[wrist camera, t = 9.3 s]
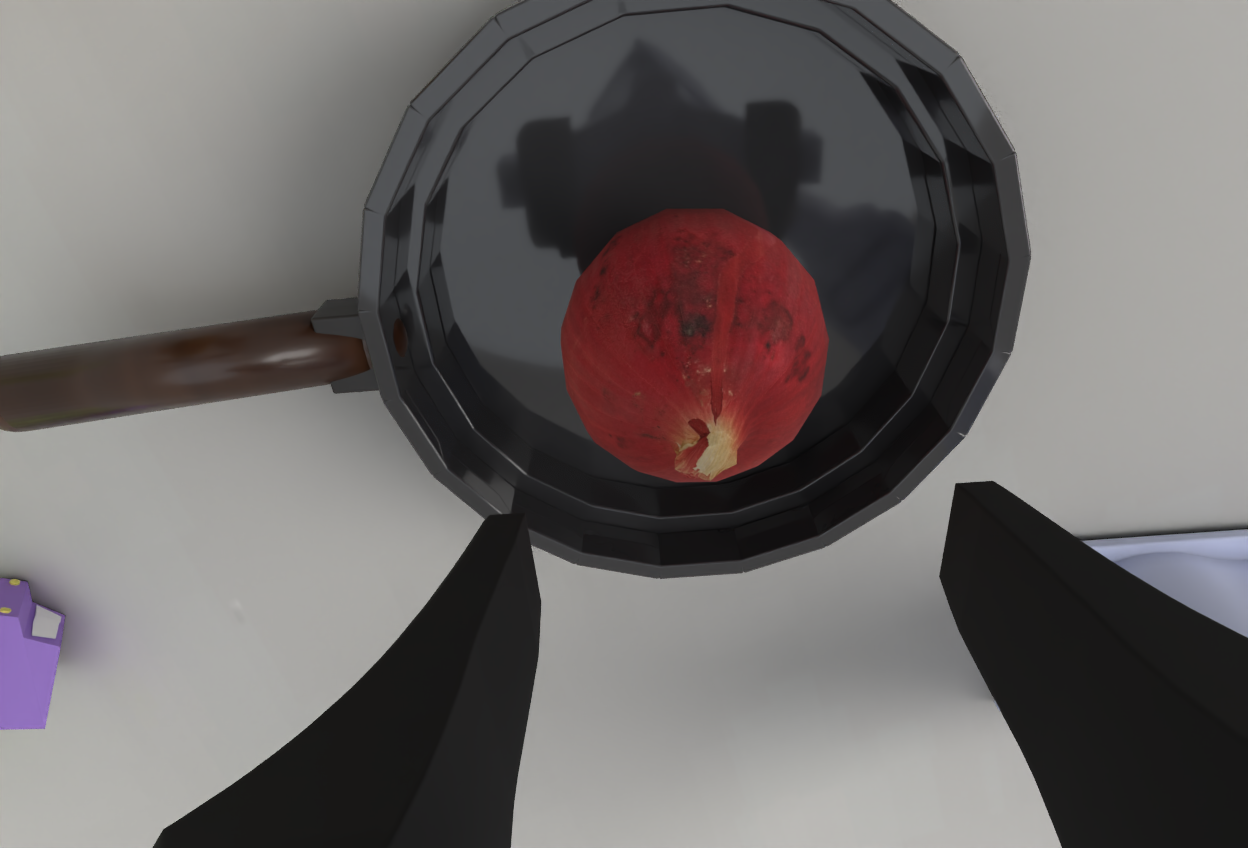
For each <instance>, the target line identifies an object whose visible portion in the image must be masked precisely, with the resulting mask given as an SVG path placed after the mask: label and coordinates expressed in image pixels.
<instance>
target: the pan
mask: <svg viewBox="0 0 1248 848" xmlns="http://www.w3.org/2000/svg"><path fill="white" fill-rule="evenodd" d="M1014 151H1015V149H1014V147H1013V145H1012V143H1011V142H1010V140H1009V138H1008V136H1007V135H1006V133H1005V131H1004V129H1003V128H1002V126H1001V124H1000V123H999V121H998V119H997V117H996V116H995V114H994V112H993V110H992V109H991V107H990V105H989V103H988V102H987V100H986V98H985V96H984V95H983V93H982V91H981V89H980V88H979V86H978V84H977V82H976V81H975V79H974V77H973V75H972V74H971V72H970V70H969V69H968V67H967V65H966V63H965V62H964V60H963V58H962V56H960V55H959V54H958V52H957V51H956V50H954V49H953V48H952V47H951V46H949V45H948V44H947V43H945V42H944V41H943V40H942V39H940V38H939V37H938V36H936V35H935V34H934V33H933V32H931V31H930V30H929V29H928V28H926V27H925V26H924V25H922V24H921V23H920V22H919V21H917V20H916V19H915V18H913V17H912V16H911V15H910V14H908V13H907V12H906V11H904V10H903V9H902V8H901V7H899V6H898V5H897V4H895V3H894V2H893V1H892V0H520V1H518V2H516V3H514V4H512V5H510V6H509V7H507V8H505V9H503V10H501V11H500V12H498V13H496V14H495V15H494V16H492V17H491V18H490V19H489V20H488V21H487V22H486V23H485V24H484V25H483V26H482V27H481V28H480V29H479V30H478V31H477V32H476V33H475V35H474V36H473V37H472V38H471V39H470V40H469V41H468V42H467V43H466V44H465V45H464V46H463V47H462V48H461V49H460V50H459V51H458V52H457V53H456V54H455V55H454V56H453V58H452V59H451V60H450V61H449V62H448V63H447V64H446V65H445V66H444V67H443V68H442V69H441V70H440V71H439V72H438V73H437V74H436V75H435V76H434V77H433V78H432V79H431V81H430V82H429V83H428V84H427V85H426V86H425V87H424V88H423V89H422V90H421V91H420V92H419V93H418V94H417V95H416V96H415V97H414V98H413V99H412V100H411V102H410V105H408V106H407V108H406V110H405V113H404V115H403V117H402V119H401V122H400V124H399V126H398V129H397V131H396V133H395V135H394V138H393V140H392V142H391V145H390V147H389V149H388V152H387V154H386V156H385V158H384V161H383V163H382V165H381V168H380V170H379V172H378V174H377V177H376V179H375V181H374V184H373V186H372V188H371V190H370V193H369V195H368V197H367V200H366V202H365V204H364V207H365V208H364V209H363V219H362V235H361V251H360V266H359V282H358V298H357V309H358V316H359V319H360V323H361V327H362V330H363V334H364V337H365V341H366V344H367V348H368V352H369V355H370V359H371V362H372V366H373V369H374V373H375V377H376V380H377V384H378V387H379V391H380V394H381V398H382V400H383V402H384V404H385V406H386V407H387V409H388V410H389V412H390V413H391V415H392V416H393V418H394V419H395V421H396V422H397V424H398V425H399V427H400V428H401V430H402V431H403V433H404V434H405V436H406V437H407V439H408V440H409V442H410V443H411V445H412V446H413V448H414V449H415V451H416V452H417V454H418V455H419V457H420V458H421V460H422V461H423V463H424V464H425V466H426V467H427V469H428V470H429V472H430V473H431V474H432V475H433V476H434V478H436V479H437V480H438V481H439V482H440V483H442V484H443V485H444V486H445V487H447V488H448V489H449V490H450V491H451V492H453V493H454V494H455V495H456V496H457V497H459V498H460V499H461V500H462V501H464V502H465V503H466V504H467V505H468V506H470V507H471V508H472V509H473V510H474V511H476V512H477V513H478V514H479V515H481V516H482V517H483V518H484V519H486V518H487V517H488V516H489V515H496V514H511V513H525V515H526V520H527V526H528V531H529V537H530V543H531V545H533V546H535V547H537V548H539V549H542V550H544V551H546V552H548V553H551V554H553V555H555V556H557V557H560V558H562V559H564V560H566V561H569V562H571V563H573V564H577V565H580V566H586V567H592V568H598V569H604V570H609V571H615V572H621V573H627V574H633V575H639V576H645V577H651V578H656V579H657V578H660V579H665V578H679V577H694V576H708V575H722V574H737V573H743V572H748V571H752V570H755V569H758V568H761V567H764V566H768V565H771V564H774V563H777V562H780V561H784V560H787V559H790V558H793V557H796V556H799V555H803V554H806V553H809V552H812V551H815V550H819V549H822V548H824V547H825V546H829V545H831V544H832V543H834V542H836V541H837V540H839V539H841V538H842V537H844V536H846V535H847V534H849V533H851V532H852V531H854V530H856V529H857V528H859V527H860V526H862V525H864V524H865V523H867V522H869V521H870V520H872V519H874V518H875V517H877V516H879V515H880V514H882V513H884V512H885V511H887V510H889V509H890V508H892V507H894V506H895V505H897V504H899V503H900V502H901V500H904V499H905V498H906V497H907V496H908V495H909V494H910V493H911V492H912V491H913V490H914V489H915V488H916V487H917V486H918V485H919V484H920V483H921V482H922V481H923V480H924V479H925V478H926V476H927V475H928V474H929V473H930V472H931V471H932V470H933V469H934V468H935V467H936V466H937V465H938V464H939V463H940V462H941V461H942V460H943V459H944V458H945V457H946V456H947V455H948V454H949V453H950V452H951V451H952V450H953V449H954V448H955V447H956V446H957V445H958V444H959V443H960V442H961V441H962V440H963V439H964V438H965V435H967V434H968V432H969V430H970V428H971V427H972V425H973V423H974V421H975V419H976V417H977V416H978V414H979V412H980V410H981V408H982V406H983V405H984V403H985V401H986V399H987V397H988V395H989V394H990V392H991V390H992V388H993V386H994V385H995V383H996V381H997V379H998V377H999V375H1000V374H1001V372H1002V370H1003V368H1004V366H1005V364H1006V363H1007V361H1008V359H1009V357H1010V355H1011V352H1012V351H1013V346H1014V341H1015V336H1016V331H1017V326H1018V321H1019V316H1020V311H1021V306H1022V301H1023V295H1024V290H1025V285H1026V280H1027V275H1028V270H1029V265H1030V260H1031V249H1030V242H1029V235H1028V229H1027V222H1026V215H1025V208H1024V202H1023V195H1022V188H1021V182H1020V175H1019V168H1018V161H1017V155H1016V152H1014ZM665 209H725V210H727V211H729V212H731V213H733V214H735V215H737V216H739V217H741V218H743V219H745V220H747V221H749V222H751V223H753V224H755V225H757V226H759V227H761V228H763V229H765V230H767V231H769V232H771V233H772V234H773V235H774V236H776V237H777V238H778V239H780V240H781V241H782V242H783V243H784V244H785V246H786V247H787V248H788V249H789V250H790V252H791V253H792V254H793V255H794V256H795V258H796V259H797V260H798V261H799V262H800V264H801V265H802V266H803V267H804V268H805V270H806V271H807V272H808V273H809V274H810V276H811V277H812V278H813V279H814V281H815V285H816V289H817V293H818V297H819V301H820V305H821V309H822V313H823V317H824V321H825V325H826V329H827V334H828V338H829V343H828V350H827V358H826V365H825V372H824V379H823V386H822V393H821V396H820V398H819V400H818V401H817V403H816V404H815V406H814V408H813V409H812V411H811V413H810V414H809V416H808V417H807V419H806V421H805V422H804V424H803V426H802V427H801V429H800V430H799V432H798V434H797V435H796V436H795V438H794V439H793V441H791V442H790V443H789V444H787V445H786V446H784V447H783V448H782V449H780V450H779V451H778V452H776V453H775V454H774V455H772V456H771V457H769V458H768V459H767V460H765V461H764V462H763V463H761V464H760V465H759V466H757V467H754V468H751V469H749V470H746V471H744V472H741V473H738V474H736V475H733V476H730V477H728V478H725V479H722V480H720V481H717V482H674V481H670V480H667V479H663V478H660V477H656V476H652V475H649V474H645V473H642V472H638V471H636V470H634V469H632V468H631V467H629V466H628V465H626V464H625V463H623V462H622V461H621V460H619V459H618V458H616V457H615V456H614V455H612V454H611V453H609V452H608V451H606V450H605V449H604V448H602V447H601V446H599V445H598V444H596V443H595V442H594V441H593V439H592V438H591V436H590V435H589V433H588V432H587V430H586V428H585V426H584V424H583V422H582V420H581V418H580V416H579V414H578V412H577V410H576V408H575V406H574V404H573V402H572V400H571V398H570V396H569V393H568V391H567V389H566V381H565V373H564V366H563V358H562V350H561V327H562V324H563V320H564V317H565V314H566V311H567V308H568V305H569V302H570V299H571V296H572V292H573V289H574V286H575V283H576V281H577V279H578V278H579V277H580V276H581V275H582V273H583V272H584V271H585V270H586V269H587V267H588V266H589V265H590V264H591V263H592V261H593V260H594V259H595V258H596V257H597V255H598V254H599V253H600V252H601V251H602V249H603V248H604V247H605V246H606V245H607V244H608V242H609V241H610V240H611V239H612V238H613V236H614V235H615V234H616V233H617V232H619V231H621V230H623V229H625V228H627V227H629V226H631V225H633V224H635V223H638V222H640V221H642V220H644V219H646V218H648V217H650V216H652V215H654V214H657V213H659V212H661V211H663V210H665ZM398 318H399V319H400V320H401V321H402V323H403V325H404V327H405V329H406V332H407V337H408V345H407V351H406V354H405V356H404V357H401V356H400V355H399V354H398V352H397V349H396V345H395V340H394V324H395V320H396V319H398Z"/></svg>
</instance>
